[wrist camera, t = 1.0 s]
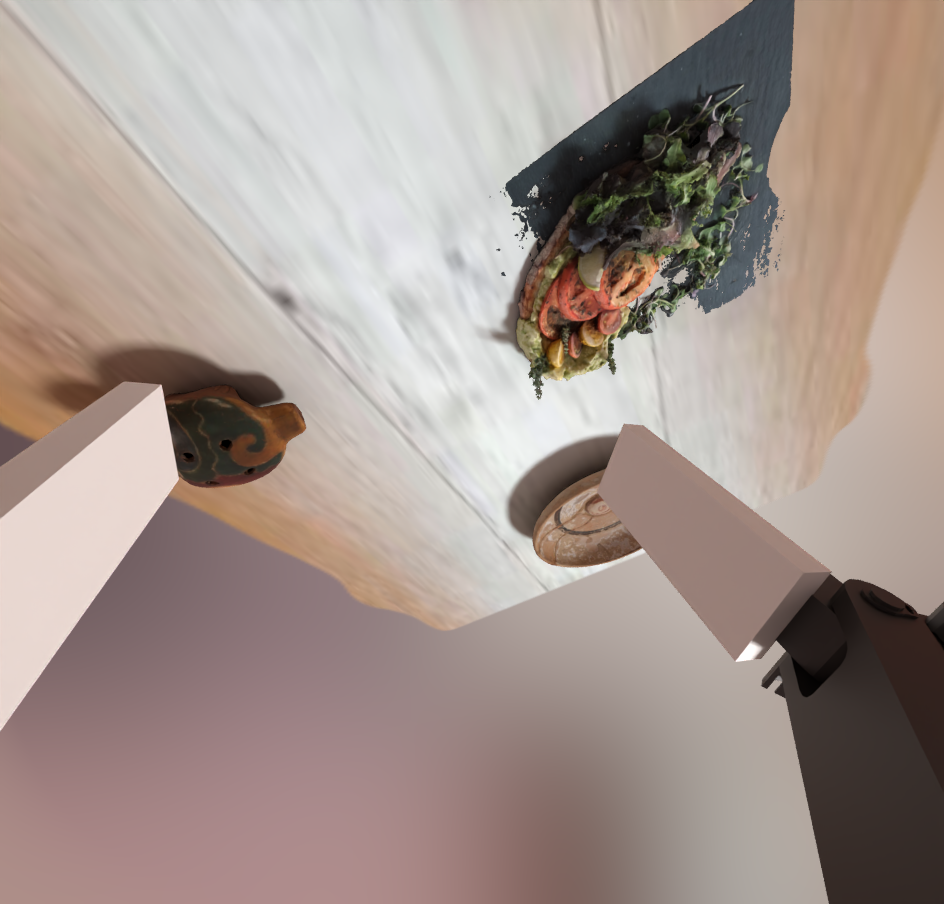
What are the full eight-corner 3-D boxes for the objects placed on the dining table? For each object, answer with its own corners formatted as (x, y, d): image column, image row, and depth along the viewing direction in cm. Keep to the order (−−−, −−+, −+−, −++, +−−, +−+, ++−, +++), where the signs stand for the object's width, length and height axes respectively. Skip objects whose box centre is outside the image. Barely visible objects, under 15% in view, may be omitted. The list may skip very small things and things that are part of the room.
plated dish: (516, 442, 51) (534, 485, 45) (356, 244, 32) (355, 279, 27) (809, 271, 42) (873, 301, 37) (823, -140, 23) (956, -198, 18)
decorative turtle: (106, 396, 36) (61, 455, 30) (276, 346, 36) (264, 394, 30) (181, 471, 42) (157, 531, 36) (323, 427, 43) (321, 479, 37)
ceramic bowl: (500, 494, 56) (509, 524, 53) (665, 418, 52) (687, 445, 48) (551, 559, 73) (560, 585, 69) (680, 505, 68) (697, 530, 64)
